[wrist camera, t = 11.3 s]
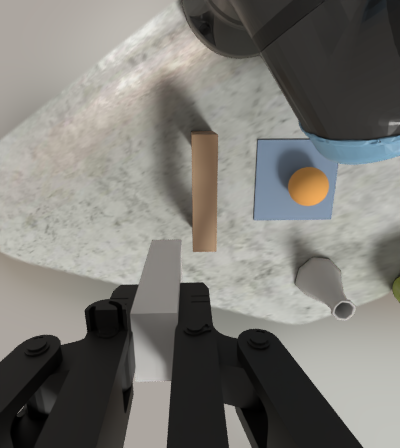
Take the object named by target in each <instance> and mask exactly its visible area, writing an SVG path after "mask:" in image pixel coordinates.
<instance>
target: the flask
mask: <svg viewBox="0 0 400 448" xmlns="http://www.w3.org/2000/svg"><path fill="white" fill-rule="evenodd" d="M295 285H296V286H297V287H298V288H299V289H300V290H301V291H302V292H303V293H304V294H305V295H307V296H309V297H311V298H314V299H316V300H318V301H320V302H322V303H324V304H326V305H327V306H328V307H330V309H331V314H332V315H333V316H334V317H336V319H337V320H345V321H346V320H348V319H349V318H350V317H352V316H353V315H354V312H355V309H356V306H355V305H354V304H353V303H352V302H351V301H350V300H347V298H346V296H345V294H344V291H343V285H342V278H341V271H340V269H339V268H338V267H337V266H336V265H335V264H334V263H333V262H332V261H331V260H330V259H324V258H315V257H312V258H311V259H310V260H309V261H308V262H306V263H305V264H304V265H303V266H302V267H300V268H299V271H298V274H297V278H296V282H295Z"/></svg>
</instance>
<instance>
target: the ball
mask: <svg viewBox="0 0 400 448" xmlns="http://www.w3.org/2000/svg"><path fill="white" fill-rule="evenodd" d="M328 190H329V182H328V179H327V177H326V175H325V174H324V173H323V172H322V171H321V170H319V169H317V168H314V167H305V168H301V169H299V170H297V171H296V172H295V173H294V174H293V175H292V176H291V178H290V180H289V183H288V191H289V194H290V196H291V198H292V199H293V200H294V201H295V202H296V203H298V204H300V205H303V206H312V205H316V204H318V203H320V202H321V201H322V200H323V199H324V198H325V197H326V195H327V193H328Z"/></svg>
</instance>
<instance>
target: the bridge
mask: <svg viewBox="0 0 400 448" xmlns="http://www.w3.org/2000/svg"><path fill="white" fill-rule="evenodd" d="M191 147H192V210H193V216H192V235H193V252H216V244H217V169H218V134H216V133H215V132H213V131H191Z"/></svg>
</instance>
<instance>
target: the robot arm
mask: <svg viewBox="0 0 400 448" xmlns="http://www.w3.org/2000/svg"><path fill="white" fill-rule="evenodd" d="M182 4H183V9H184V13H185V16H186V19H187V21H188V23H189V25H190V27H191V29H192V31H193V32H194V34H195V35H196V36H197V38H198V39H199V40H200V41H201V42H202V43H203V44H204V45H205V46H206V47H208V48H209V49H210V50H212V51H214V52H215V53H217V54H220V55H222V56H225V57H229V58H236V59H243V58H250V57H254V56H257V55H261V57H262V59H263V60H264V62H265V64H266V65H267V67H268V69H269V70H270V72H271V74H272V76H273V77H274V79H275V81H276V82H277V84H278V86H279V88H280V89H281V91H282V93H283V94H284V96H285V98H286V100H287V101H288V103H289V105H290V106H291V108H292V110H293V112H294V113H295V115H296V117H297V118H298V120H299V126H300V128H301V130H302V131H303V132H304V133H305V135H307V136H308V137H309V138H310V140H311V141H312V143H313V144H314V146H315V147H316V149H317V150H318V152H319V153H320V154H321V155H322V156H324V157H325V158H326V159H328V160H330V161H332V162H336V163H340V164H350V165H355V164H366V163H373V162H378V161H382V160H387V159H390V158H394V157H397V156H400V0H182ZM85 318H86V325H87V334H86V336H85V338H84V339H82V340H80V341H76V342H72V343H68V344H64V345H61V343H60V340H59V339H58V338H57V337H55V336H53V335H40V336H36V337H33V338H30V339H28V340H26V341H24V342H23V343H22V344H20V345H18V346H17V347H16V348H15V349H14V350H13V351H12V352H11V353H10V354H9V355H8V356H6V357H5V358H4V359H3V360H2V361H1V362H0V448H123V445H124V440H125V435H126V430H127V425H128V420H129V415H130V410H131V404H132V399H133V377H134V373H135V380H136V382H150V381H171V394H170V409H169V422H168V424H169V425H168V437H167V448H229V444H228V436H227V428H226V419H225V410H224V404H228V405H232V406H235V409H236V413H237V415H238V417H239V420H240V422H241V424H242V426H243V428H244V431H245V433H246V435H247V438H248V440H249V442H250V444H251V447H252V448H363V447H362V445H361V444H360V443H359V442H358V440H357V439H356V438H355V436H354V435H353V434H352V433H351V431H350V430H349V429H348V428H347V426H346V425H345V424H344V422H343V421H342V420H341V419H340V417H339V416H338V415H337V413H336V412H335V411H334V409H333V408H332V407H331V406H330V404H329V403H328V402H327V400H326V399H325V398H324V397H323V395H322V394H321V393H320V392H319V390H318V389H317V388H316V386H315V385H314V384H313V383H312V381H311V380H310V379H309V377H308V376H307V375H306V374H305V372H304V371H303V370H302V368H301V367H300V366H299V365H298V363H297V362H296V361H295V360H294V358H293V357H292V356H291V354H290V353H289V352H288V350H287V349H286V348H285V347H284V345H283V344H282V343H281V342H280V340H279V339H278V338H277V337H276V336H275V335H274V334H272V333H270V332H268V331H266V330H261V329H249V330H246V331H243V332H242V333H241V334H240V335H239V337H238V339H237V338H232V337H228V336H225V335H223V334H221V333H219V332H218V331H217V330H216V329H215V328H214V326H213V323H212V315H211V305H210V297H209V288H208V287H207V286H206V285H205V284H204V283H203V282H201V283H182V243H181V240H152V242H151V245H150V248H149V252H148V255H147V259H146V262H145V265H144V269H143V272H142V275H141V279H140V282H139V285H120V286H119V287H118V288H116V289H115V290H114V291H113V293H112V296H111V298H110V299H105V300H100V301H97V302H94V303H93V304H91V305H89V306H88V307H87V308H86V309H85ZM23 406H24V407H23ZM22 407H23V409H22ZM21 409H22V410H21ZM20 410H21V411H20ZM19 411H20V412H19ZM18 412H19V413H18ZM17 413H18V414H17Z"/></svg>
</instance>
